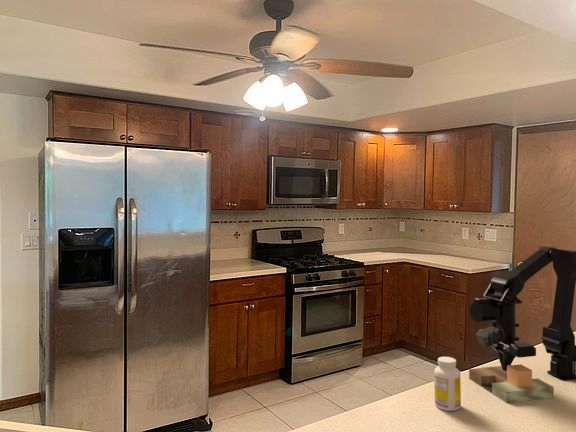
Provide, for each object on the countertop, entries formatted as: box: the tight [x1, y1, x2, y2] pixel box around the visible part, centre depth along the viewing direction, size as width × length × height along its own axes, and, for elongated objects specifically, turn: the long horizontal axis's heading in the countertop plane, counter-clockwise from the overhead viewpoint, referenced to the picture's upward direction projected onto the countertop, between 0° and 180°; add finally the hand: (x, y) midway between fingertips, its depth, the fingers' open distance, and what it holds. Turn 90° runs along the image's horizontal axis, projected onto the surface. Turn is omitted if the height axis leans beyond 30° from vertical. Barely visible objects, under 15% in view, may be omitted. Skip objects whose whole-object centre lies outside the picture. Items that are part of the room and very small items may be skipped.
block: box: [507, 364, 533, 387], centre depth 126 cm, size 4×4×4 cm
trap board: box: [468, 365, 555, 404], centre depth 130 cm, size 15×17×3 cm
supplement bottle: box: [433, 356, 462, 412], centre depth 119 cm, size 7×7×13 cm
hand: (505, 370), depth 132 cm, fingers closed
